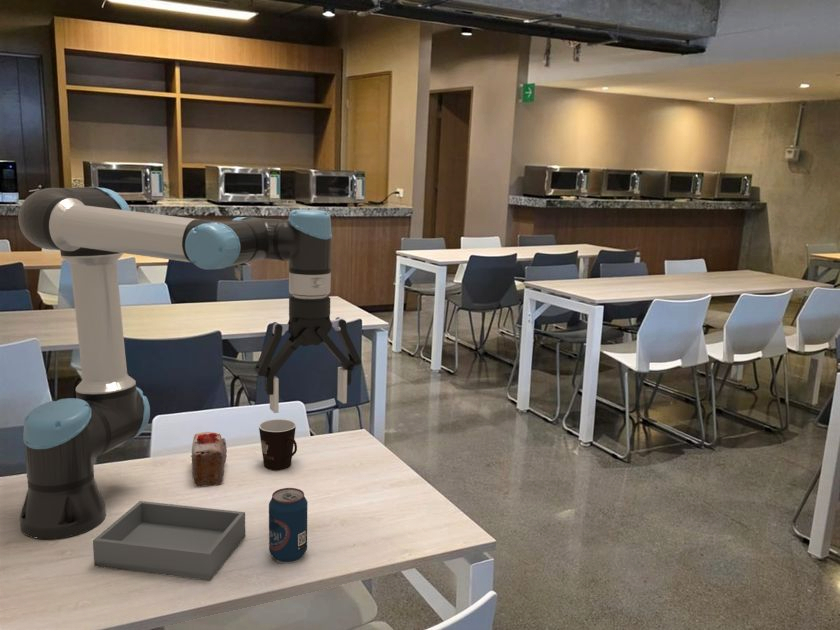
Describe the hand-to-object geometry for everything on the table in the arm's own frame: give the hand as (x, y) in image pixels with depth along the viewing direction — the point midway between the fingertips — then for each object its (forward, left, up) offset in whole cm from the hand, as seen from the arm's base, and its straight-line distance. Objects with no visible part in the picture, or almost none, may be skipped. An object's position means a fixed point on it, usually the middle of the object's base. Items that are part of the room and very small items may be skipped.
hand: (308, 406), depth 136 cm
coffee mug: (-16, +28, -26) cm, 42 cm away
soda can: (-1, -9, -26) cm, 28 cm away
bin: (-22, -12, -26) cm, 36 cm away
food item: (-30, +21, -26) cm, 45 cm away
